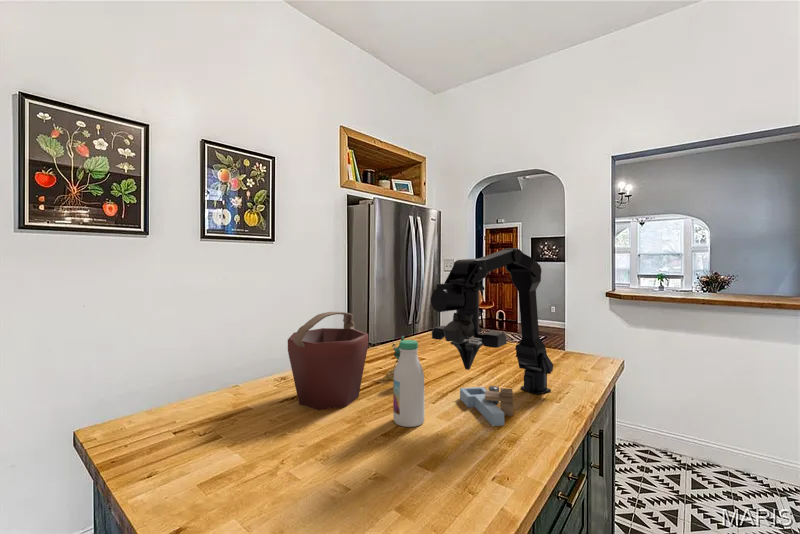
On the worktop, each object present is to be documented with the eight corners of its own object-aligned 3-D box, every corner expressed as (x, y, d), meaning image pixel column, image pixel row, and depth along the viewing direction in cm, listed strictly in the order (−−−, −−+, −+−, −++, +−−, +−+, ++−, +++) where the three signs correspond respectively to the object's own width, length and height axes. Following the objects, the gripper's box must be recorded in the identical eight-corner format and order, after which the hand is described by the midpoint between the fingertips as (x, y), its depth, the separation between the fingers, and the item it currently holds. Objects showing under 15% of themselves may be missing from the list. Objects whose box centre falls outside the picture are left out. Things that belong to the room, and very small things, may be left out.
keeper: (485, 408, 103) (485, 386, 103) (512, 410, 102) (512, 388, 102) (484, 414, 99) (484, 391, 99) (512, 416, 98) (513, 393, 98)
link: (460, 398, 111) (459, 388, 111) (483, 396, 112) (483, 386, 112) (484, 426, 92) (484, 414, 92) (512, 424, 93) (512, 412, 93)
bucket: (342, 380, 128) (341, 305, 127) (387, 397, 112) (386, 312, 111) (272, 400, 110) (271, 313, 110) (314, 423, 95) (313, 322, 94)
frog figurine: (432, 373, 136) (429, 332, 135) (392, 389, 125) (388, 345, 123) (414, 366, 144) (411, 328, 142) (375, 382, 132) (371, 340, 131)
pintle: (494, 399, 109) (494, 385, 109) (501, 403, 107) (501, 388, 107) (486, 401, 108) (486, 386, 108) (493, 405, 106) (493, 389, 106)
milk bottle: (428, 417, 98) (427, 339, 97) (419, 429, 91) (419, 345, 90) (399, 413, 100) (399, 337, 100) (389, 425, 93) (388, 343, 93)
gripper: (419, 309, 98) (419, 370, 98) (487, 315, 86) (487, 384, 86) (442, 304, 106) (443, 361, 107) (507, 310, 95) (507, 373, 95)
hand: (467, 369), depth 98 cm, fingers closed
